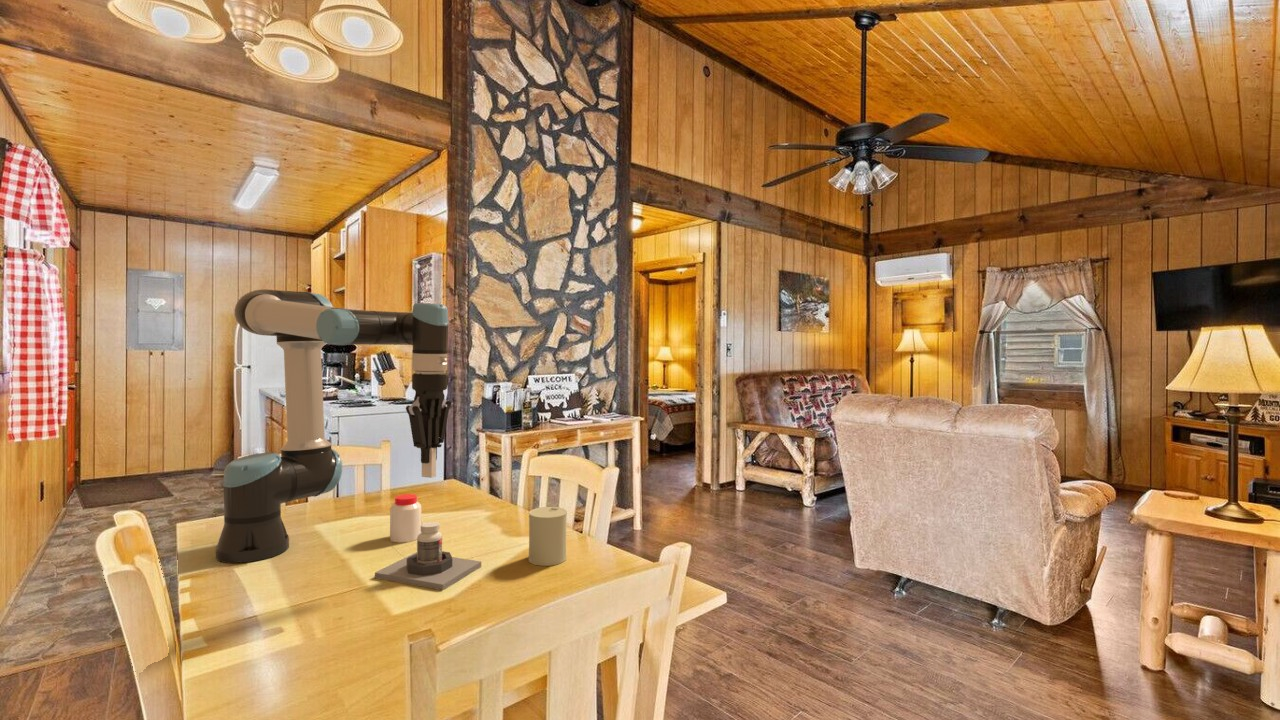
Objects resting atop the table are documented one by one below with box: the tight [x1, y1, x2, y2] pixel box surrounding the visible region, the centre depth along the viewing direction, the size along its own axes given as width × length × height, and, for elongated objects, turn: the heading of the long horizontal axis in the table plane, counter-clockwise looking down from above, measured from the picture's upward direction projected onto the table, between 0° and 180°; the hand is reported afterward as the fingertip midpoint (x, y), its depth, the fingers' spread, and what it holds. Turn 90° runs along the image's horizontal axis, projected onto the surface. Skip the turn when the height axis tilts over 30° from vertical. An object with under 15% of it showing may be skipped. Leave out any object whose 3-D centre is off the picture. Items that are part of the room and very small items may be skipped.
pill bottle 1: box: [389, 493, 422, 544], centre depth 158 cm, size 8×8×11 cm
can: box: [527, 506, 568, 567], centre depth 145 cm, size 9×9×12 cm
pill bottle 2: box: [416, 521, 443, 565], centre depth 135 cm, size 5×5×10 cm
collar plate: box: [374, 550, 482, 591], centre depth 135 cm, size 18×14×3 cm
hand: (428, 476), depth 135 cm, fingers closed
